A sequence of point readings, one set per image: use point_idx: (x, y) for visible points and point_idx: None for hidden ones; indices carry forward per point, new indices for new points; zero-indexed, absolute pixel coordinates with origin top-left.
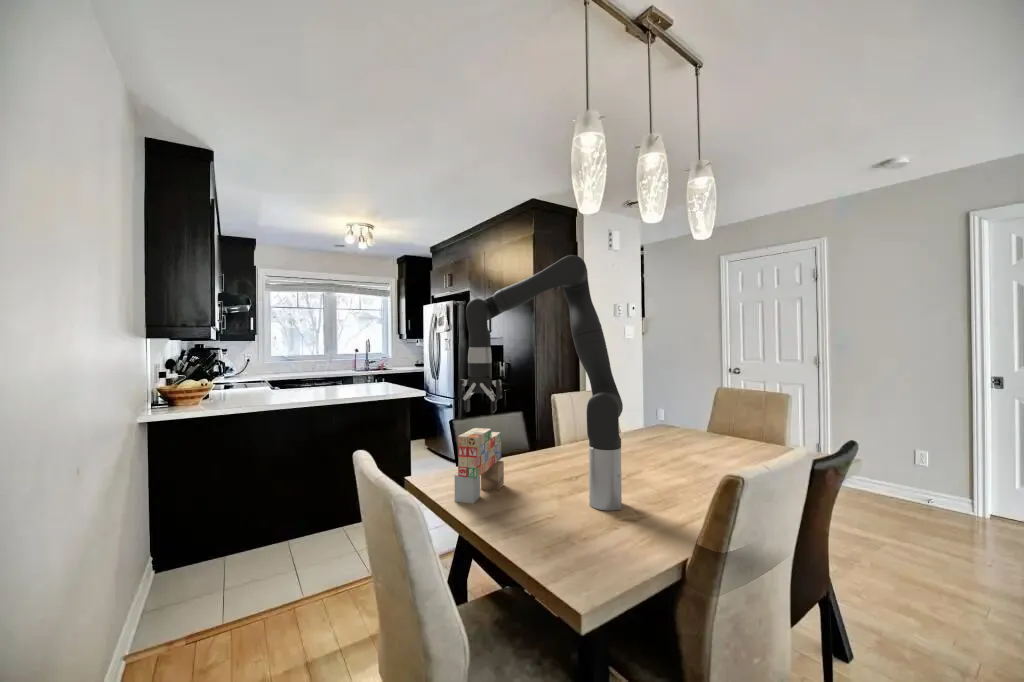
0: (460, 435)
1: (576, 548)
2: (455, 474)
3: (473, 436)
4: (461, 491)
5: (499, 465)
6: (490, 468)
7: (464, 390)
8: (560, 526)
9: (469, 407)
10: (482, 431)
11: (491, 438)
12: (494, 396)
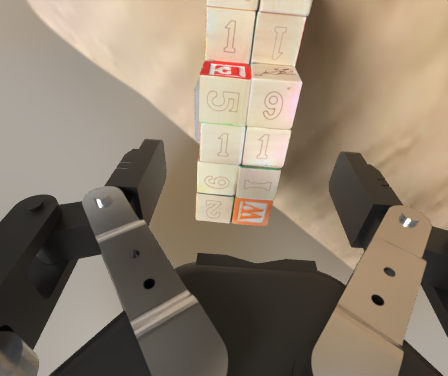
0: (200, 214)
1: None
2: (195, 136)
3: (250, 217)
4: None
5: None
6: None
7: (22, 254)
8: (412, 178)
9: (156, 160)
10: (266, 148)
11: (294, 67)
12: (407, 243)
